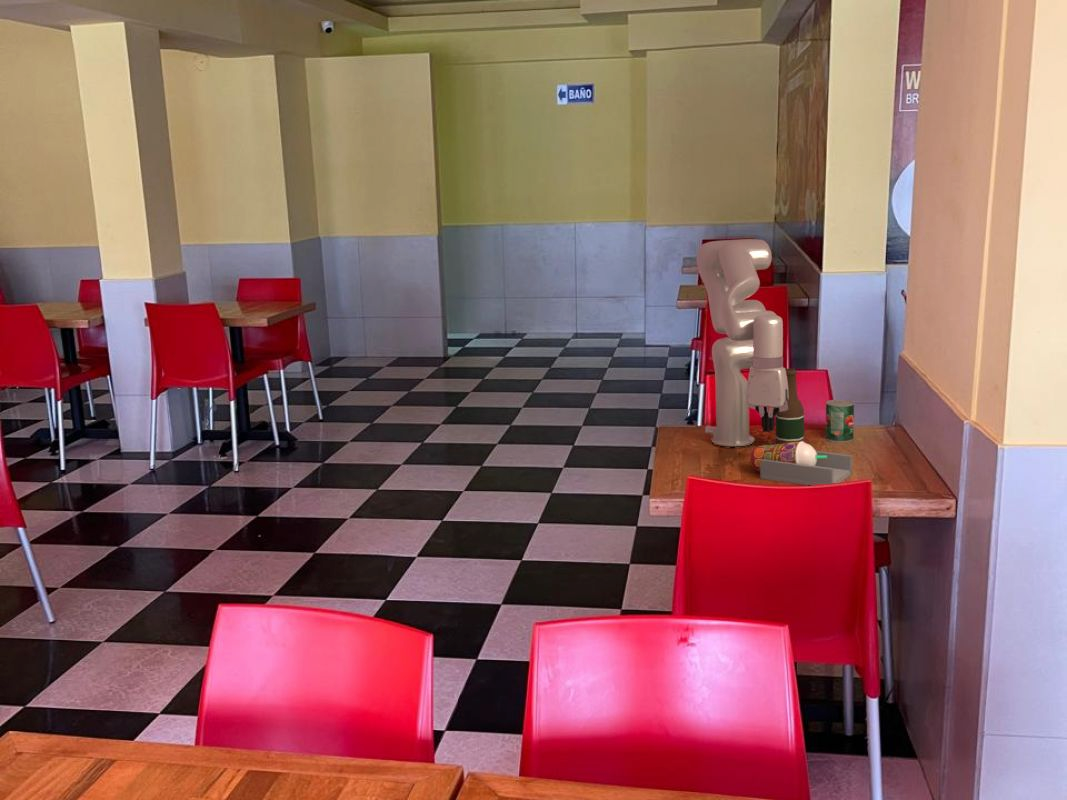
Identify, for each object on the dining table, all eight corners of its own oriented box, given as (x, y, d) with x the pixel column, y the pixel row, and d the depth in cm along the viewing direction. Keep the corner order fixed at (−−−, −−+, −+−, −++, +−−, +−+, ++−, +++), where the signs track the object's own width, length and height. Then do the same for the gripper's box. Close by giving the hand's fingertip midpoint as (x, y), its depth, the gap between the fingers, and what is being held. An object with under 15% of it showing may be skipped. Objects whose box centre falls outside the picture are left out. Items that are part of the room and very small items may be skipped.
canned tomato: (857, 441, 293) (857, 404, 290) (829, 443, 293) (830, 406, 290) (848, 434, 300) (849, 398, 298) (822, 436, 301) (822, 400, 298)
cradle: (760, 478, 263) (760, 460, 262) (782, 464, 274) (782, 446, 273) (831, 488, 252) (831, 469, 251) (851, 473, 263) (852, 455, 262)
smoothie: (750, 438, 268) (821, 435, 256) (763, 450, 274) (834, 448, 262) (745, 467, 265) (817, 465, 253) (759, 479, 271) (830, 478, 258)
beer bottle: (805, 449, 288) (805, 367, 282) (802, 457, 280) (803, 372, 275) (777, 448, 290) (776, 366, 285) (774, 455, 283) (774, 372, 278)
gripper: (735, 363, 265) (736, 431, 269) (789, 367, 256) (789, 437, 260) (747, 358, 270) (748, 424, 274) (801, 362, 262) (800, 430, 265)
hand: (768, 430), depth 267 cm, fingers closed
